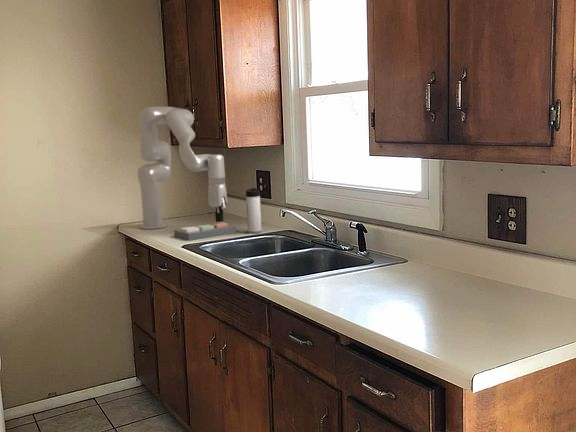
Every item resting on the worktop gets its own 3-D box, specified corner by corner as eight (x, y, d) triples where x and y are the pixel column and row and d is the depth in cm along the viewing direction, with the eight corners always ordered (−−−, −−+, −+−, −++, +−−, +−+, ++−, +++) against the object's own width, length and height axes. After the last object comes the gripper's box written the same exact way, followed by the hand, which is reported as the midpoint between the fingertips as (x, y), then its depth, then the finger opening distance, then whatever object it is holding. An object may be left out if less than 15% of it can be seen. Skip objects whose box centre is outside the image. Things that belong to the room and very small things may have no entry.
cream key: (181, 233, 292) (180, 228, 292) (193, 231, 296) (192, 226, 296) (187, 235, 288) (187, 229, 287) (199, 233, 291) (199, 227, 291)
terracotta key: (210, 228, 301) (210, 223, 301) (221, 227, 305) (221, 222, 305) (217, 230, 297) (217, 225, 296) (228, 228, 300) (228, 223, 300)
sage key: (196, 231, 297) (195, 226, 297) (207, 229, 300) (207, 224, 300) (202, 232, 292) (202, 227, 292) (214, 230, 296) (213, 225, 295)
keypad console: (174, 236, 295) (174, 230, 295) (220, 229, 309) (219, 223, 309) (189, 240, 284) (188, 233, 284) (236, 233, 298) (235, 226, 298)
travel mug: (262, 230, 301) (260, 187, 298) (260, 233, 295) (258, 189, 292) (249, 231, 302) (247, 188, 299) (246, 233, 295) (244, 189, 292)
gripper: (201, 181, 301) (204, 220, 304) (218, 183, 289) (220, 224, 292) (215, 180, 306) (218, 218, 308) (232, 181, 294) (235, 221, 296)
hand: (219, 221), depth 300 cm, fingers closed
